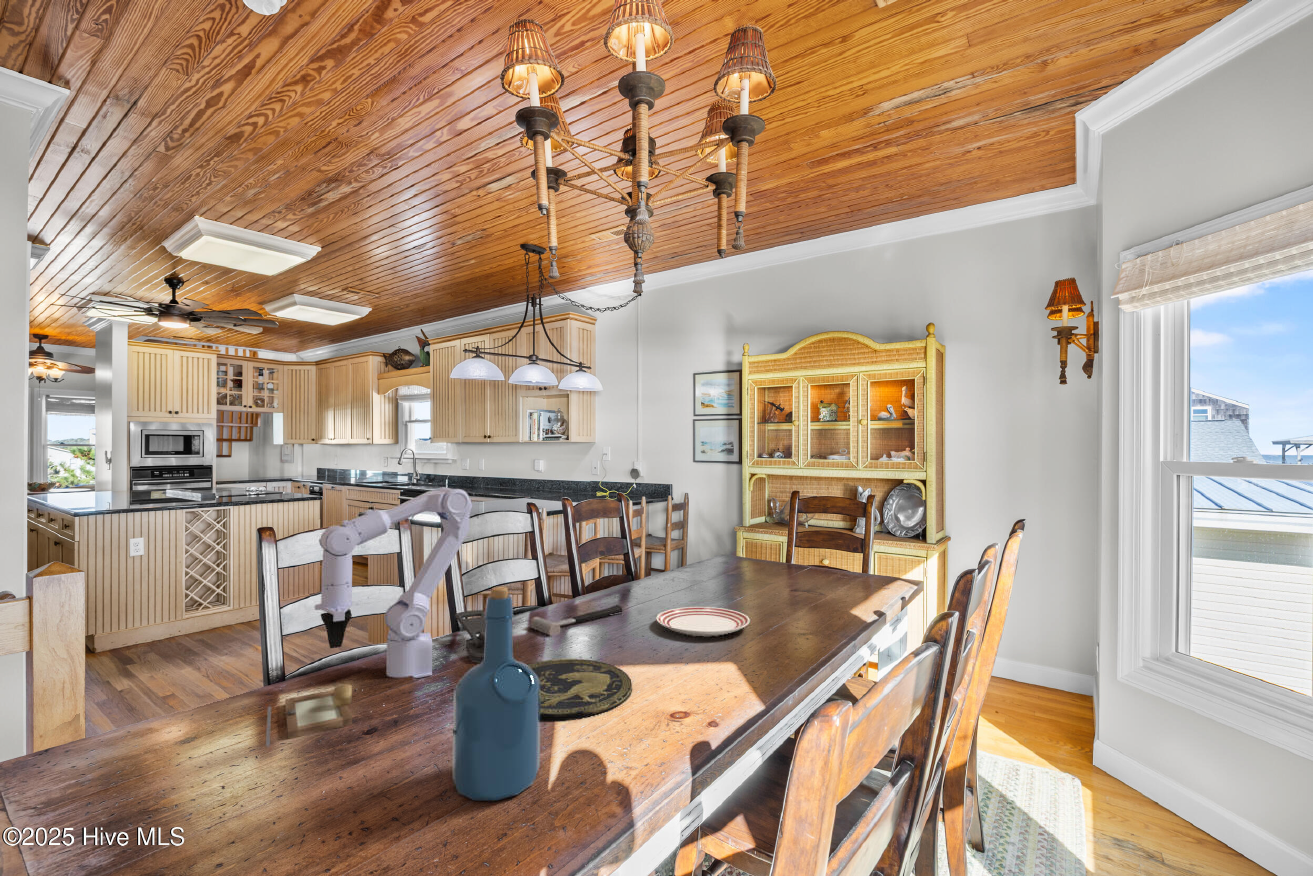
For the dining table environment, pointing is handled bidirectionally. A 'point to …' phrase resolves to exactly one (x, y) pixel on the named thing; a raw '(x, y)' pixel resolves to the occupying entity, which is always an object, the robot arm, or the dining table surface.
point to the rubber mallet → (569, 620)
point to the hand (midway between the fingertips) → (335, 646)
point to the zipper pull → (474, 633)
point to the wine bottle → (496, 715)
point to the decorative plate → (579, 688)
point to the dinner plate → (703, 621)
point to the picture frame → (318, 711)
